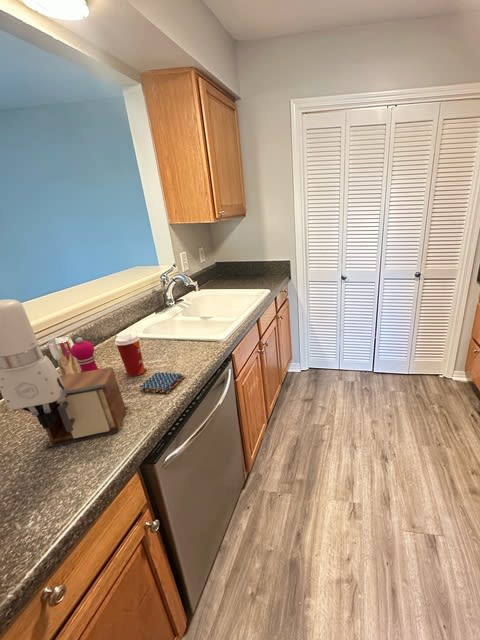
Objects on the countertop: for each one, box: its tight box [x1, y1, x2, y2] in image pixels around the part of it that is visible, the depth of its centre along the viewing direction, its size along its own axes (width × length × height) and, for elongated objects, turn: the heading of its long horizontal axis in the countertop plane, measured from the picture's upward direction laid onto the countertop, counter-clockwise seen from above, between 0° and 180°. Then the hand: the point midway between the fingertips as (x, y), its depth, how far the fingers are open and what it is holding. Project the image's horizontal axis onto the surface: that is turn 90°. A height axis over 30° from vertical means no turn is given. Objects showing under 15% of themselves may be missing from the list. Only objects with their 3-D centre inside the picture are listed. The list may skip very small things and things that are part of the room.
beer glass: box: [47, 335, 81, 376], centre depth 112 cm, size 7×7×15 cm
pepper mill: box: [71, 337, 100, 372], centre depth 101 cm, size 7×7×20 cm
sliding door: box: [57, 390, 110, 438], centre depth 81 cm, size 8×5×13 cm, turn 108°
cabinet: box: [42, 366, 126, 448], centre depth 87 cm, size 16×12×14 cm
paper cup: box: [114, 333, 145, 377], centre depth 114 cm, size 8×8×14 cm
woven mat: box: [139, 371, 185, 394], centre depth 108 cm, size 10×11×2 cm
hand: (50, 424), depth 77 cm, fingers closed
